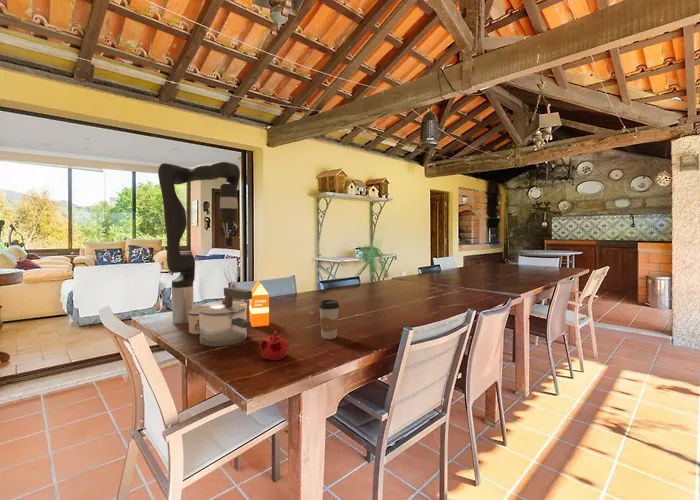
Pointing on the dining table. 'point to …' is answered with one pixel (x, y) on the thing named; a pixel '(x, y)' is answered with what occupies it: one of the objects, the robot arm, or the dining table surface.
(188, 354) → the dining table surface
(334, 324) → the coffee cup
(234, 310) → the cooker lid
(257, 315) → the orange juice
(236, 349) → the dining table surface
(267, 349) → the pomegranate
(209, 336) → the cooker pot
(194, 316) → the teacup with lid
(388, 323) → the dining table surface
